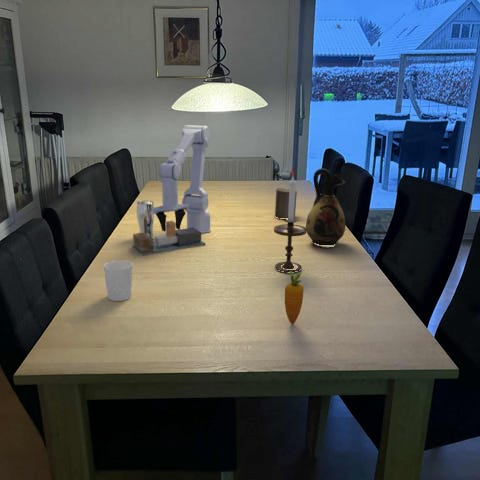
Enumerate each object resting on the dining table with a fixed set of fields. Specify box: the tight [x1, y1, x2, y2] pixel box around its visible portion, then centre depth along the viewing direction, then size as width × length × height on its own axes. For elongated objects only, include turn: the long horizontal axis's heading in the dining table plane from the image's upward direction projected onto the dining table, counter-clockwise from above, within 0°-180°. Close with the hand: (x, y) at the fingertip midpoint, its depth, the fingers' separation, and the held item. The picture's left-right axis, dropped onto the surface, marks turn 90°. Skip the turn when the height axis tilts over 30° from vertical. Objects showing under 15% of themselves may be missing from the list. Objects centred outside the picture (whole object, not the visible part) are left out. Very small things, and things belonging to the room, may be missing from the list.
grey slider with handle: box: [153, 220, 179, 246], centre depth 194 cm, size 16×4×8 cm, turn 121°
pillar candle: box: [274, 186, 298, 218], centre depth 236 cm, size 10×10×15 cm
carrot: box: [284, 271, 305, 325], centre depth 131 cm, size 5×5×15 cm
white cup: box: [103, 259, 133, 302], centre depth 146 cm, size 8×8×10 cm
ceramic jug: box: [305, 167, 346, 245], centre depth 196 cm, size 17×15×30 cm
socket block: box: [132, 233, 155, 252], centre depth 188 cm, size 4×9×5 cm, turn 31°
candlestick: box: [273, 168, 307, 272], centre depth 168 cm, size 11×11×35 cm
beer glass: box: [136, 200, 155, 240], centre depth 200 cm, size 7×7×15 cm
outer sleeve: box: [131, 227, 206, 256], centre depth 193 cm, size 26×11×5 cm, turn 121°
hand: (170, 229), depth 193 cm, fingers open, 5 cm apart
